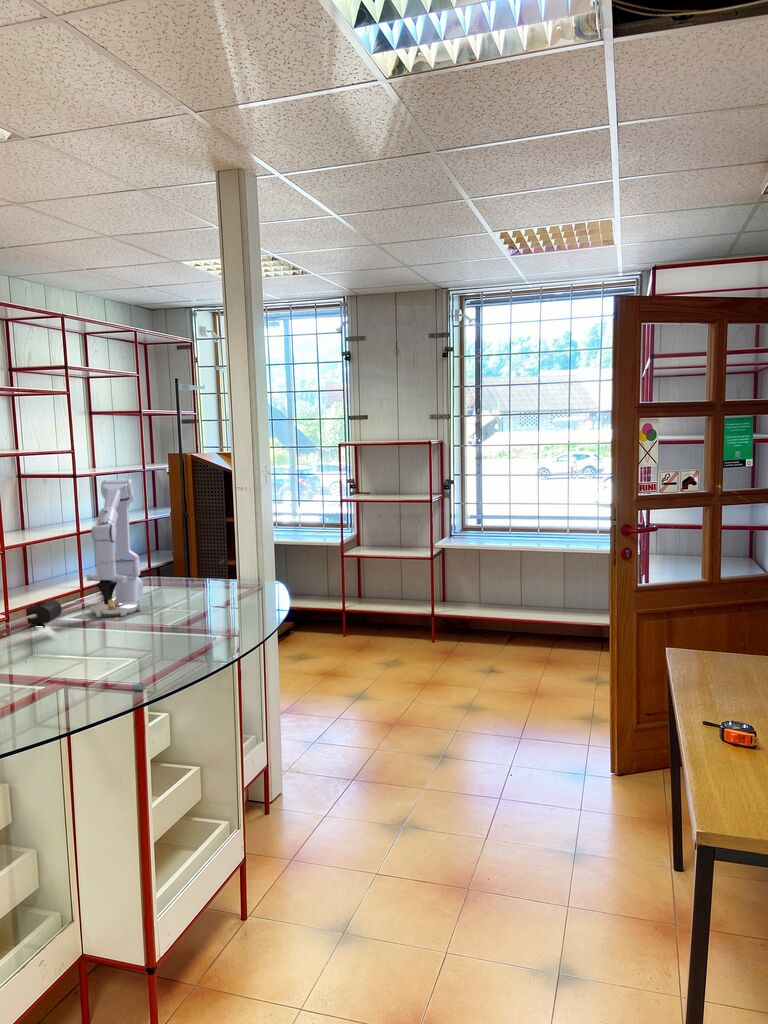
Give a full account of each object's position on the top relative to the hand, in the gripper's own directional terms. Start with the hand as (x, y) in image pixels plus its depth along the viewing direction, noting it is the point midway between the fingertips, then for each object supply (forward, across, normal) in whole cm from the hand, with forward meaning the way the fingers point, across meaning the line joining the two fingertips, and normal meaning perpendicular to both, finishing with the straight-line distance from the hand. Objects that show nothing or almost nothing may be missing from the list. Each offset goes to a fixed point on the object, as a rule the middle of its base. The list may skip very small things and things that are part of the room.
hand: (108, 603), depth 231 cm
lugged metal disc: (+4, -1, +5) cm, 6 cm away
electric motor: (+6, -18, -8) cm, 21 cm away
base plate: (+5, -1, +5) cm, 7 cm away
